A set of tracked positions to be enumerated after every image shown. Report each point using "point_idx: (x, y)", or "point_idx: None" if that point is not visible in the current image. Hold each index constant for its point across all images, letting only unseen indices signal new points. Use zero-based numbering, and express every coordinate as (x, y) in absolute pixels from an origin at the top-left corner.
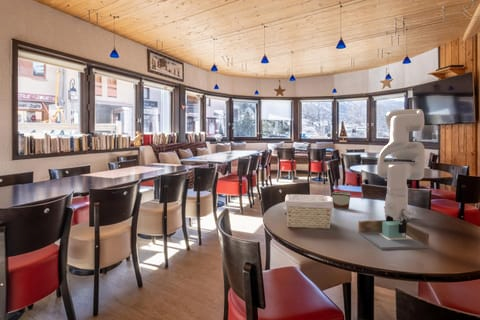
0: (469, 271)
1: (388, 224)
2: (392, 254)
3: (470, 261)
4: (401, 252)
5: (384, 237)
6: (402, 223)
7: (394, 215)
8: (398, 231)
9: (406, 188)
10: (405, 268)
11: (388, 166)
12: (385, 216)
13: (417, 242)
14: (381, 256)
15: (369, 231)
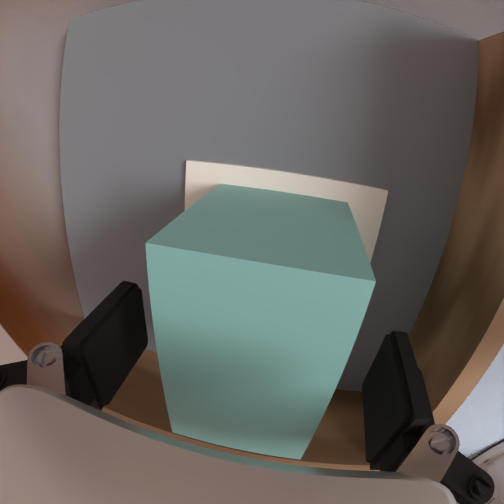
0: None
1: (177, 262)
2: (26, 68)
3: (16, 338)
4: (37, 136)
5: (266, 168)
6: (35, 360)
7: (20, 431)
8: (129, 288)
9: None
10: None
11: None
12: (451, 429)
13: None
14: (27, 4)
15: (471, 145)
